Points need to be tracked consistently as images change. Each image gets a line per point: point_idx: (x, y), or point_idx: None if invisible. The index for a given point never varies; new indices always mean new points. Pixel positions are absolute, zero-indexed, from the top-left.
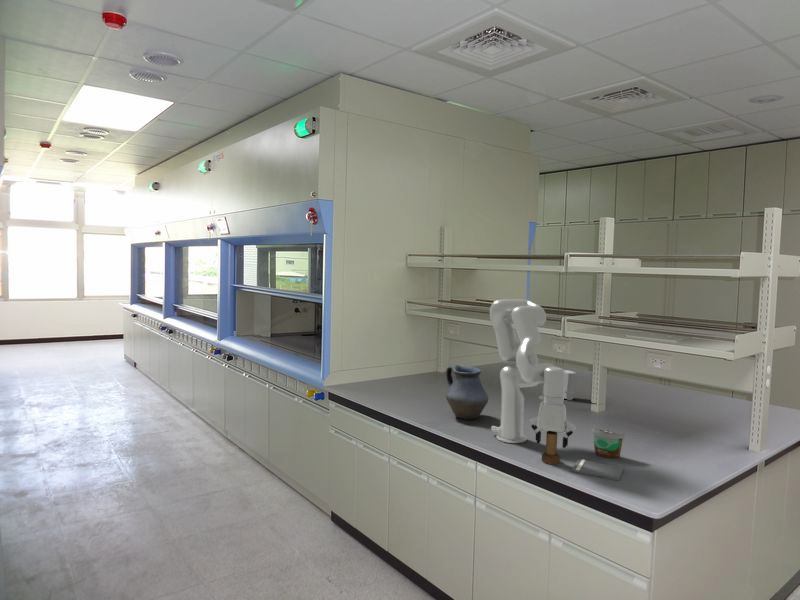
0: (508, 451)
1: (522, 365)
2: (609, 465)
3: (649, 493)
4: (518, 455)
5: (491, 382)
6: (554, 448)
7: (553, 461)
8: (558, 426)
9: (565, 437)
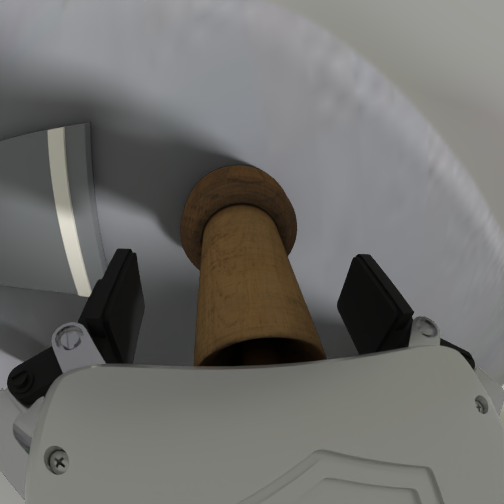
0: (430, 251)
1: None
2: (3, 280)
3: None
4: (401, 223)
5: None
6: (211, 244)
7: (210, 178)
8: (121, 470)
9: (79, 327)
